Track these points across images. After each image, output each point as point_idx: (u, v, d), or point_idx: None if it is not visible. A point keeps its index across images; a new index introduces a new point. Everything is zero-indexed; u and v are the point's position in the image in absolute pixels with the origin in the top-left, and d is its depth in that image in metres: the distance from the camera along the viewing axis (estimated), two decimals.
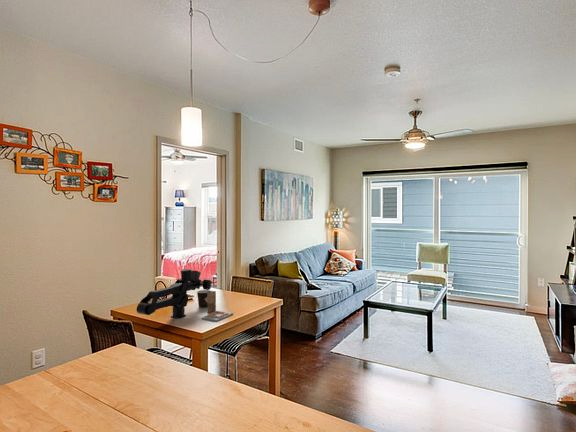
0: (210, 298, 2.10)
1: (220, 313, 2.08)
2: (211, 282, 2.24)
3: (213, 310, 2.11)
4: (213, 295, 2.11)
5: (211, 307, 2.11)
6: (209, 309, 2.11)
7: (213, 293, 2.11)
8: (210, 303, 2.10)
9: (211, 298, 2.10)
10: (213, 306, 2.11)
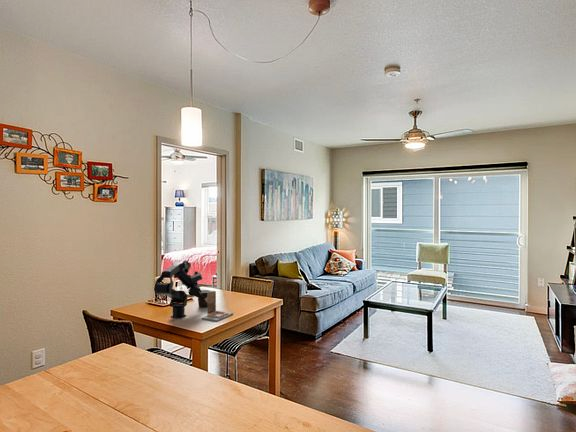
0: (210, 298, 2.10)
1: (220, 313, 2.08)
2: (200, 296, 2.11)
3: (213, 310, 2.11)
4: (213, 295, 2.11)
5: (211, 307, 2.11)
6: (209, 309, 2.11)
7: (213, 293, 2.11)
8: (210, 303, 2.10)
9: (211, 298, 2.10)
10: (213, 306, 2.11)
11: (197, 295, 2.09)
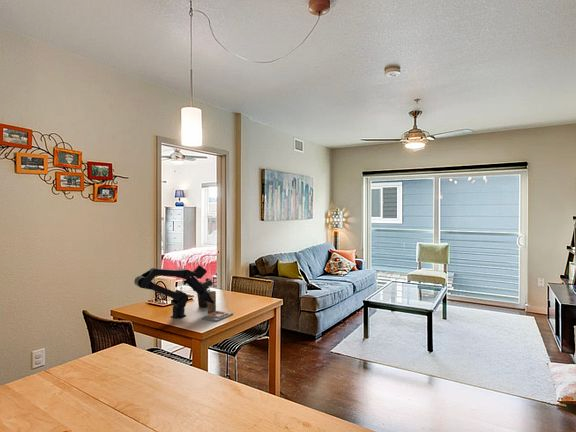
0: None
1: (220, 313, 2.08)
2: (212, 301, 2.10)
3: (213, 310, 2.11)
4: (213, 295, 2.11)
5: (211, 307, 2.11)
6: (209, 309, 2.11)
7: (213, 293, 2.11)
8: (210, 303, 2.10)
9: None
10: (213, 306, 2.11)
11: (208, 300, 2.09)
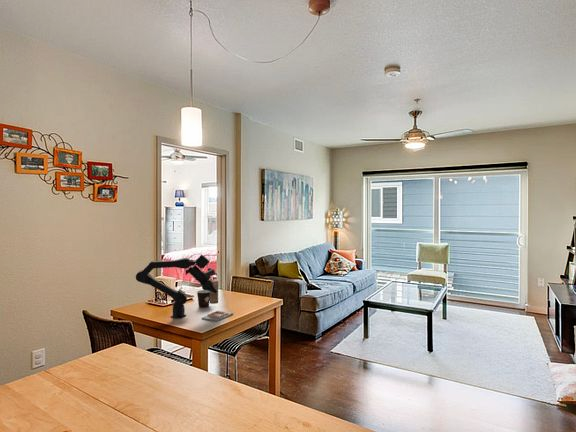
0: None
1: (220, 313, 2.08)
2: (214, 291, 2.07)
3: (216, 300, 2.08)
4: (216, 285, 2.08)
5: (214, 297, 2.08)
6: (212, 299, 2.08)
7: (216, 283, 2.08)
8: (212, 293, 2.08)
9: (214, 287, 2.08)
10: (216, 296, 2.08)
11: (211, 289, 2.06)
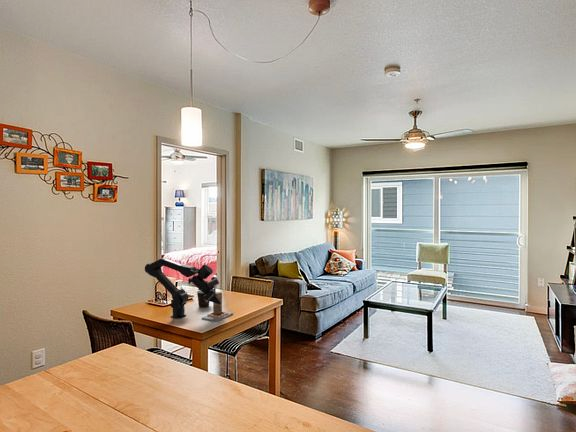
0: None
1: None
2: (218, 302, 2.00)
3: (219, 312, 2.03)
4: (219, 297, 2.03)
5: (217, 309, 2.02)
6: (215, 311, 2.02)
7: (219, 295, 2.03)
8: (216, 305, 2.02)
9: None
10: (219, 308, 2.03)
11: (214, 300, 1.99)
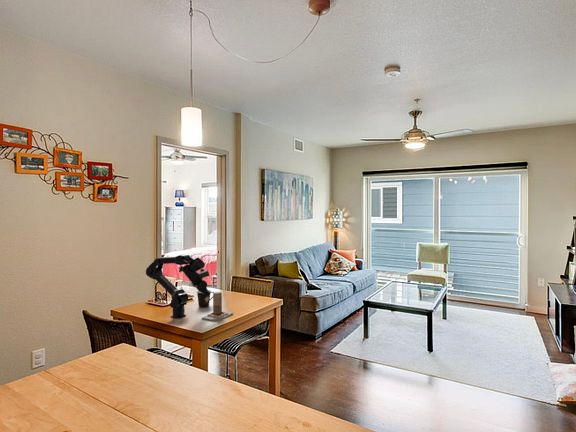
0: (216, 300, 2.02)
1: None
2: (207, 293, 2.02)
3: (219, 312, 2.03)
4: (219, 297, 2.03)
5: (217, 309, 2.02)
6: (215, 311, 2.02)
7: (219, 295, 2.03)
8: (215, 305, 2.02)
9: (217, 300, 2.02)
10: (219, 308, 2.03)
11: (204, 291, 2.00)
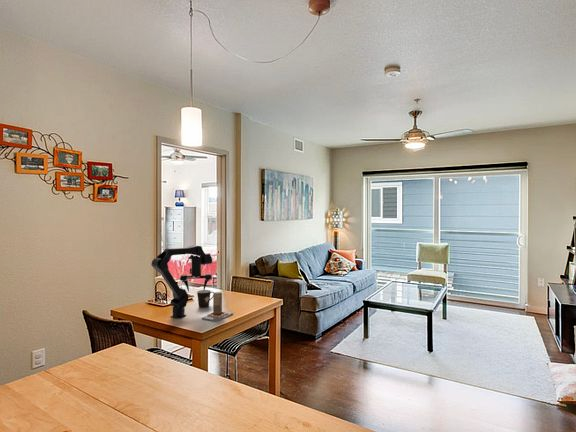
0: (216, 300, 2.02)
1: None
2: (204, 288, 2.15)
3: (219, 312, 2.03)
4: (219, 297, 2.03)
5: (217, 309, 2.02)
6: (215, 311, 2.02)
7: (219, 295, 2.03)
8: (216, 305, 2.02)
9: (217, 300, 2.02)
10: (219, 308, 2.03)
11: (205, 284, 2.15)
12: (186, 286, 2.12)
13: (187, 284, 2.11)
